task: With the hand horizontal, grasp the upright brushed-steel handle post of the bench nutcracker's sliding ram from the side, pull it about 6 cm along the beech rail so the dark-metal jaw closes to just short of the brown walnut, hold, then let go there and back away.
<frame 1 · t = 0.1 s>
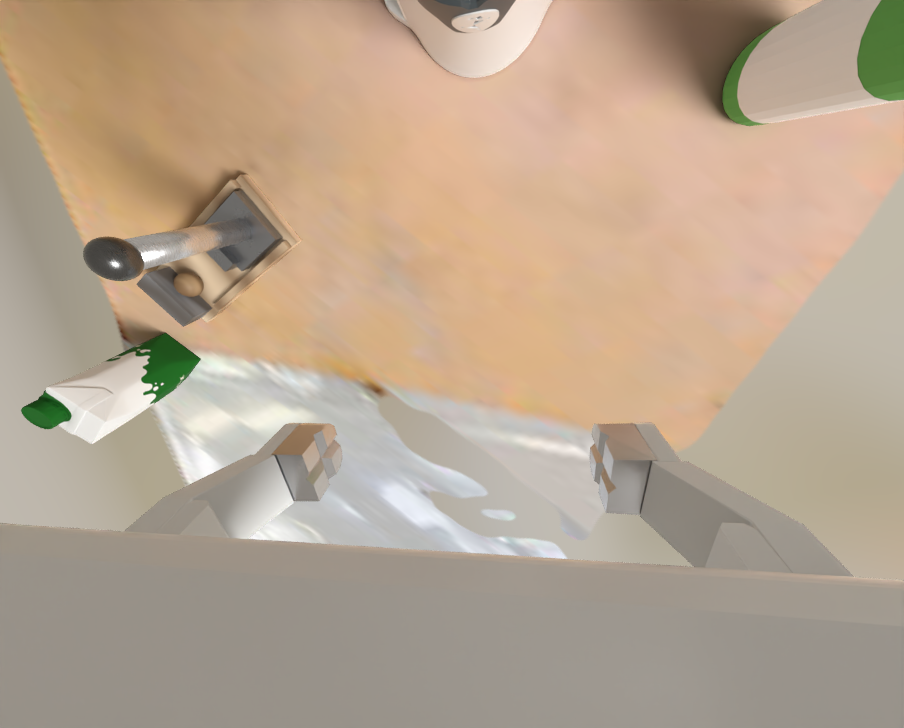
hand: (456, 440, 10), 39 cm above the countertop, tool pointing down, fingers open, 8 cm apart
milk carton: (178, 355, 61), on the countertop
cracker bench: (228, 256, 49), on the countertop
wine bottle: (759, 80, 33), on the countertop
ram: (184, 249, 37), point 12 cm above the countertop, slide at 0.0 cm
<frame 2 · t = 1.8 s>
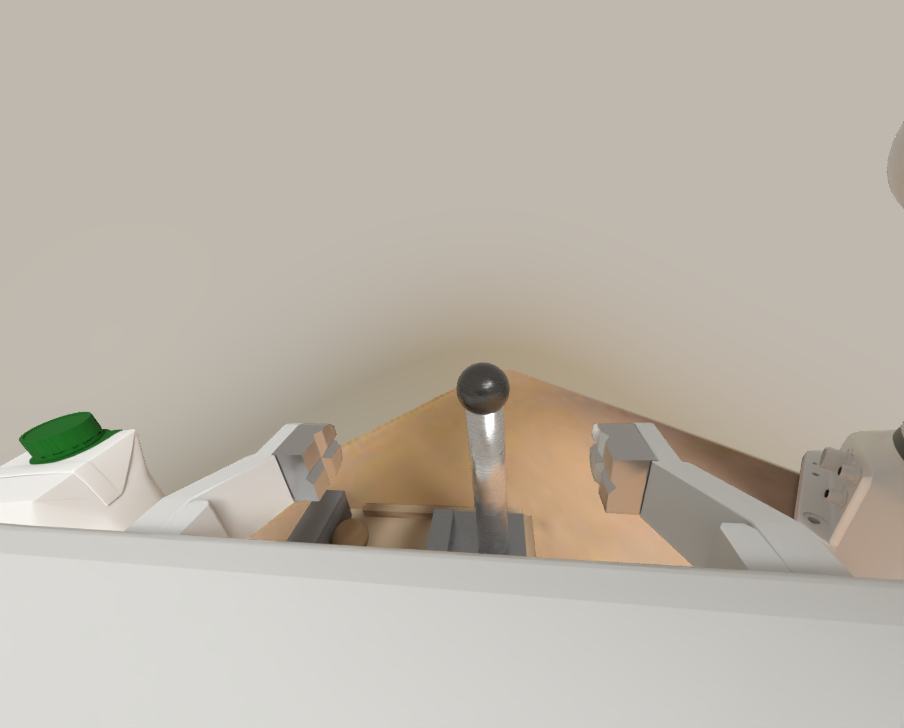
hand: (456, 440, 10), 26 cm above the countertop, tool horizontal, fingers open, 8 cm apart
milk carton: (158, 602, 32), on the countertop
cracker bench: (416, 562, 33), on the countertop
ram: (470, 475, 27), point 12 cm above the countertop, slide at 0.0 cm
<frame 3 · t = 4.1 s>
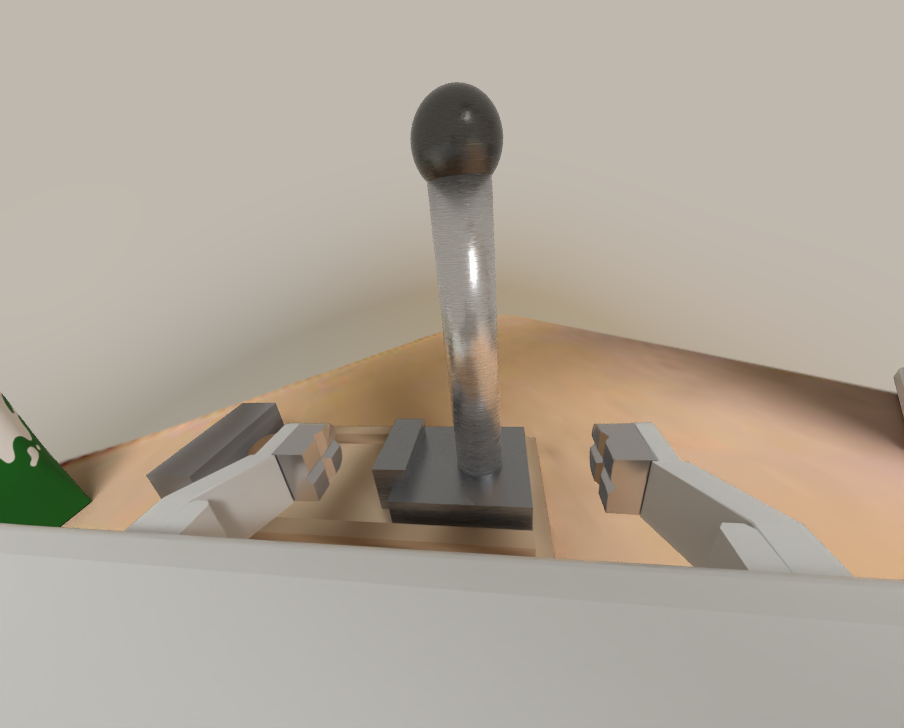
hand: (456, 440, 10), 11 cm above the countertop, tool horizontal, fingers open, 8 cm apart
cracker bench: (371, 496, 23), on the countertop
ram: (442, 335, 17), point 12 cm above the countertop, slide at 0.0 cm
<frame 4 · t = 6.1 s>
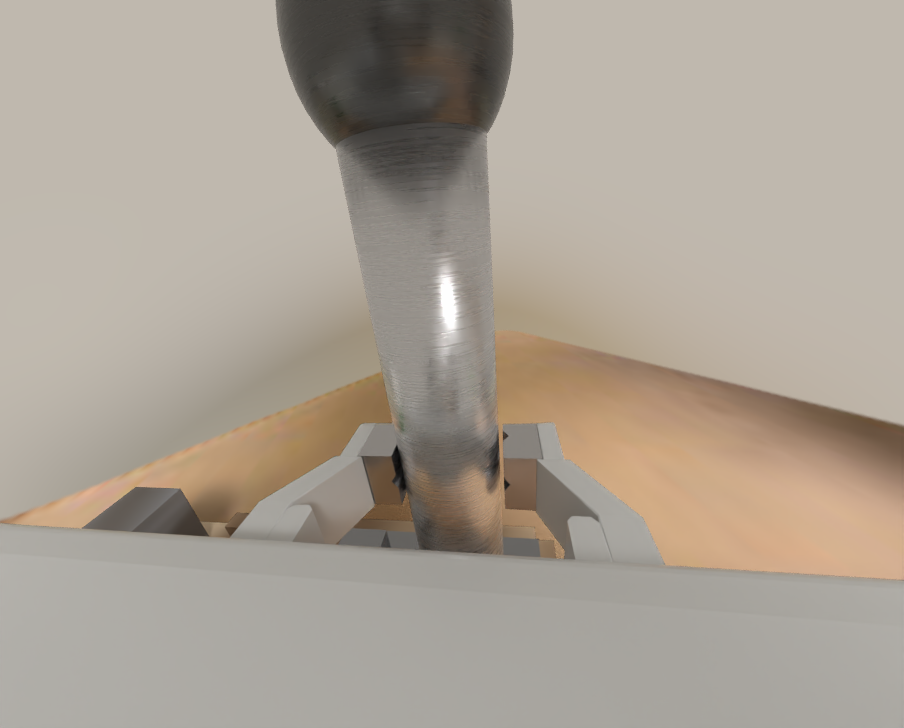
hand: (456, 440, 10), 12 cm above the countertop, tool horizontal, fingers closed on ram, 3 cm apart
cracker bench: (309, 643, 15), on the countertop
ram: (397, 443, 9), point 12 cm above the countertop, slide at 0.0 cm, touching gripper
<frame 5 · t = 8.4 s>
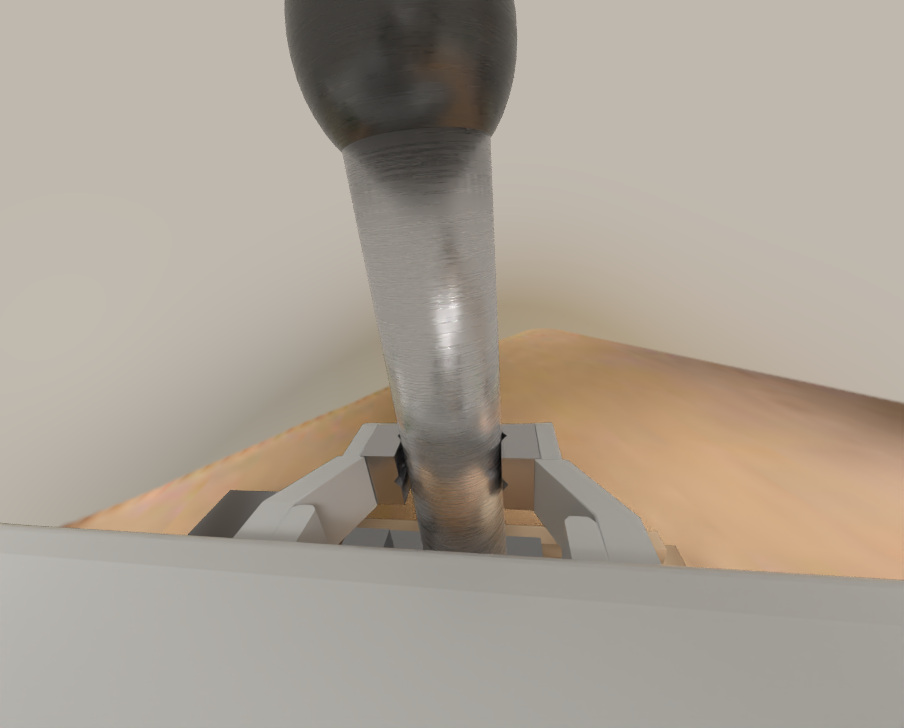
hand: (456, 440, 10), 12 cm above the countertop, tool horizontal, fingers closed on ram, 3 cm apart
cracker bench: (433, 655, 15), on the countertop
ram: (402, 442, 9), point 12 cm above the countertop, slide at 6.0 cm, touching gripper
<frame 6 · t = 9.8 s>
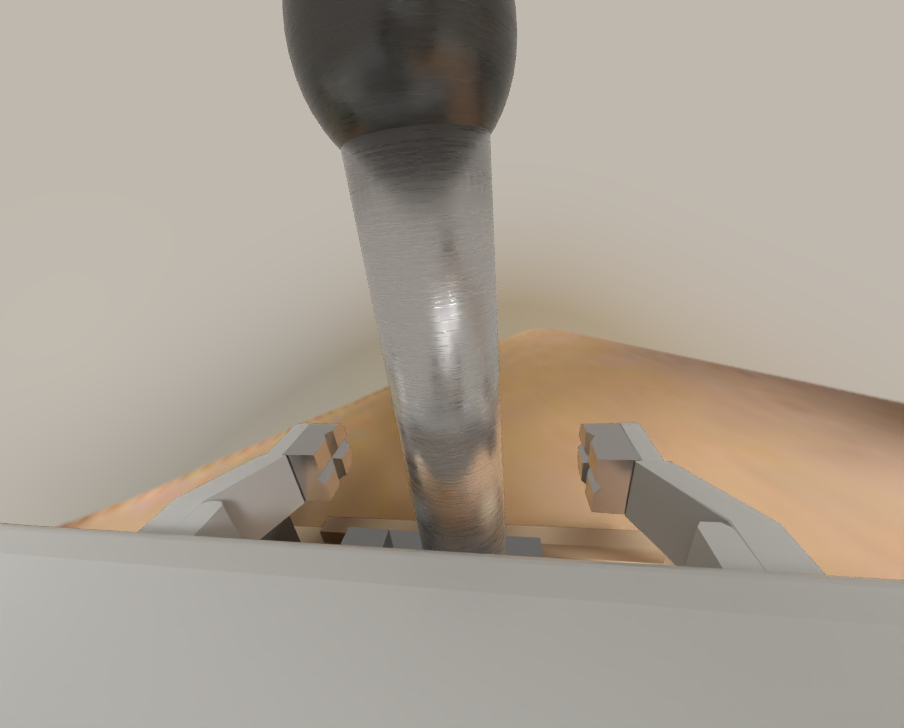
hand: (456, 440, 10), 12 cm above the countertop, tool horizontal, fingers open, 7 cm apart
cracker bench: (433, 656, 14), on the countertop
ram: (401, 442, 9), point 12 cm above the countertop, slide at 6.0 cm
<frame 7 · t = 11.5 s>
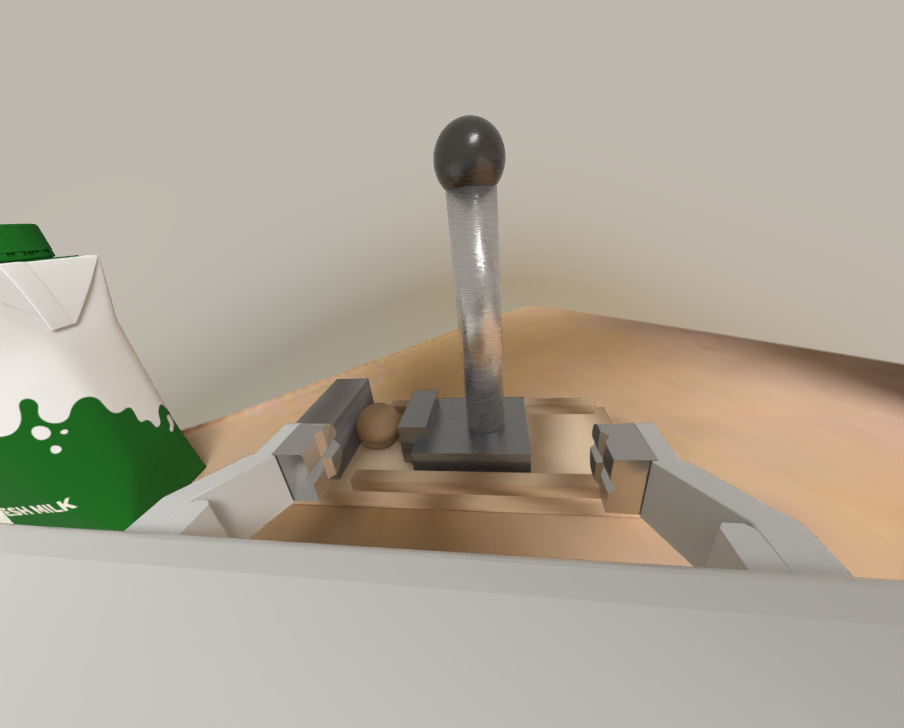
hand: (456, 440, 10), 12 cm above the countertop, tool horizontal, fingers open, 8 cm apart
milk carton: (133, 506, 25), on the countertop
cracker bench: (463, 458, 26), on the countertop
ram: (456, 314, 21), point 12 cm above the countertop, slide at 6.0 cm
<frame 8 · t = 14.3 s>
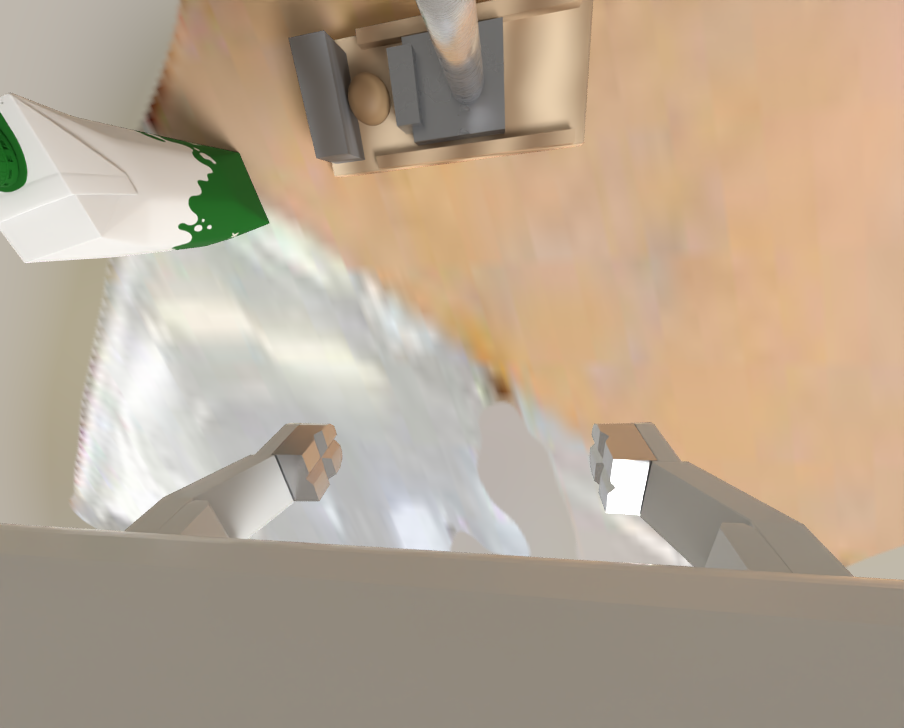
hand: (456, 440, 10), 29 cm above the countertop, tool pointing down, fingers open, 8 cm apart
milk carton: (231, 198, 36), on the countertop
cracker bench: (448, 99, 30), on the countertop
ram: (429, 34, 19), point 12 cm above the countertop, slide at 6.0 cm
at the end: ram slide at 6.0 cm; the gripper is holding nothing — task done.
